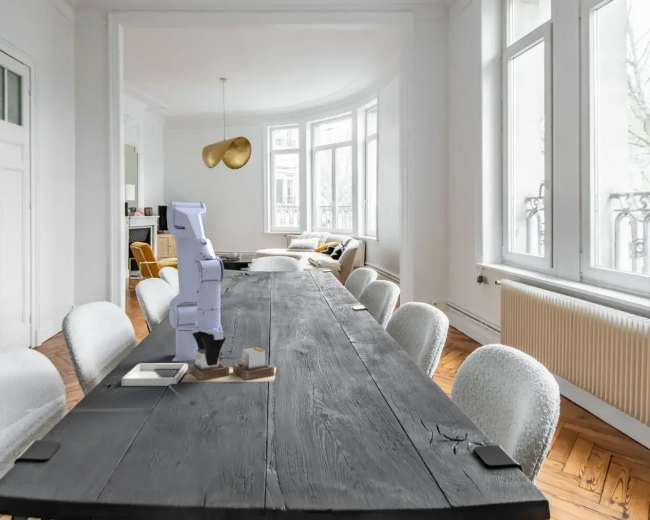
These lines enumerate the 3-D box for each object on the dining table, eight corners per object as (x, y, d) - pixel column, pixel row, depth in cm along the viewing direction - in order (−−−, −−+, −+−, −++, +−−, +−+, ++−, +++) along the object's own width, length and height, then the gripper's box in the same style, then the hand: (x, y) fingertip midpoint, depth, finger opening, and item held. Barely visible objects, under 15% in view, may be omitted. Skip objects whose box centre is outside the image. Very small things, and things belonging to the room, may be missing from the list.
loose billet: (195, 373, 124) (195, 348, 124) (212, 370, 127) (212, 346, 126) (201, 378, 120) (201, 353, 120) (218, 375, 123) (218, 350, 122)
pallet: (191, 370, 130) (191, 359, 129) (276, 370, 131) (276, 359, 131) (180, 385, 118) (180, 373, 117) (274, 385, 119) (274, 373, 119)
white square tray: (138, 371, 128) (138, 363, 128) (188, 371, 129) (188, 363, 129) (121, 388, 116) (121, 378, 115) (176, 387, 116) (176, 378, 116)
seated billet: (241, 372, 125) (241, 348, 125) (257, 370, 127) (257, 346, 127) (248, 377, 121) (248, 352, 121) (265, 374, 124) (265, 350, 123)
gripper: (183, 305, 126) (183, 357, 127) (202, 314, 114) (203, 372, 115) (210, 303, 130) (210, 353, 131) (231, 311, 118) (231, 367, 119)
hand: (208, 362), depth 124 cm, fingers closed on loose billet, 4 cm apart
